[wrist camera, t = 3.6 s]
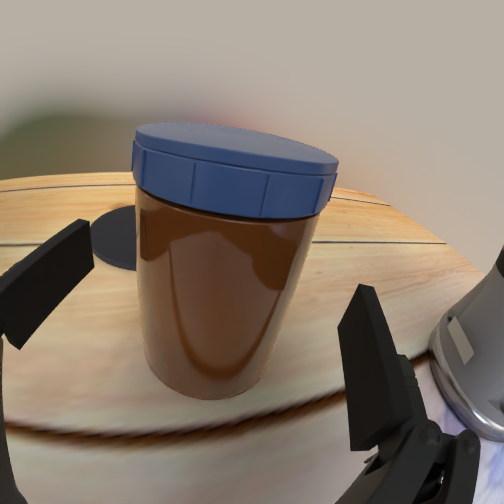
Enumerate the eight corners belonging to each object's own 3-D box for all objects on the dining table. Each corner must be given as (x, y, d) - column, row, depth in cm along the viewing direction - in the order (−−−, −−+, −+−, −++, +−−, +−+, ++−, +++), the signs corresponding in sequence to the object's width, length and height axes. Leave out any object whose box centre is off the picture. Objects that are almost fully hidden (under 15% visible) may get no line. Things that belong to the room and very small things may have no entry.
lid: (304, 173, 15) (312, 143, 14) (354, 238, 8) (374, 182, 7) (164, 151, 14) (168, 119, 13) (95, 197, 7) (95, 137, 6)
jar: (263, 312, 20) (307, 150, 14) (273, 404, 13) (364, 195, 7) (159, 298, 19) (167, 128, 13) (131, 386, 12) (101, 154, 6)
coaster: (218, 216, 33) (219, 212, 32) (207, 282, 21) (208, 276, 21) (117, 203, 31) (117, 199, 31) (65, 258, 20) (64, 252, 19)
